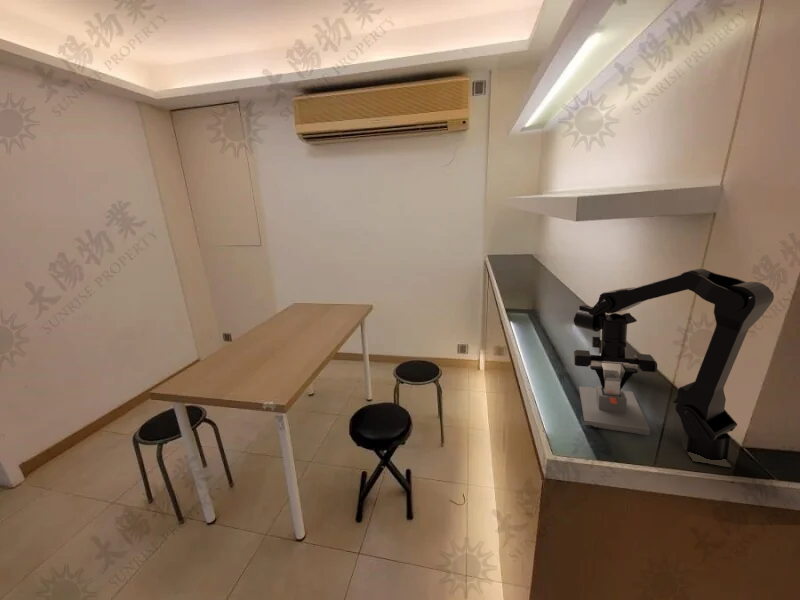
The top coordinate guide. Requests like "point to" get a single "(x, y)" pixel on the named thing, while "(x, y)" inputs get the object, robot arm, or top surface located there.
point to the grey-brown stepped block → (611, 383)
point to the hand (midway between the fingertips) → (611, 388)
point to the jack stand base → (612, 411)
